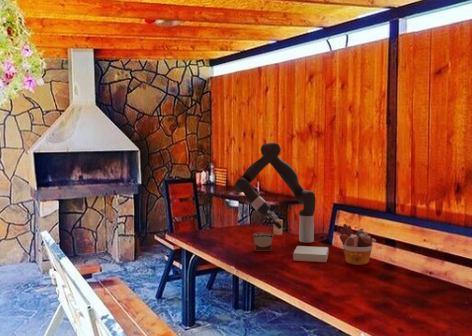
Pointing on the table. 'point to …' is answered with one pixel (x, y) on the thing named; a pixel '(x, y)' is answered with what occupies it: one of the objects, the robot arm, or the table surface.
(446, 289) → the table surface
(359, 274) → the table surface
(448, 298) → the table surface
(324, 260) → the base board
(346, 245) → the bucket of meat
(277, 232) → the birch block
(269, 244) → the food container
